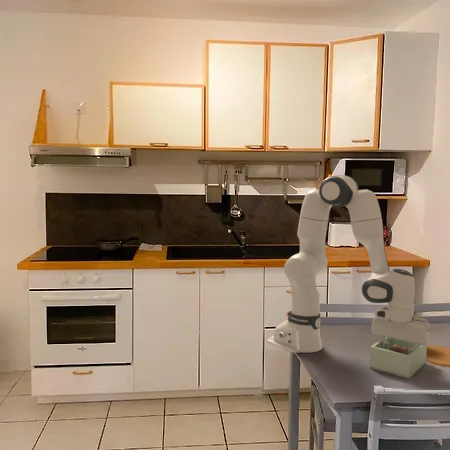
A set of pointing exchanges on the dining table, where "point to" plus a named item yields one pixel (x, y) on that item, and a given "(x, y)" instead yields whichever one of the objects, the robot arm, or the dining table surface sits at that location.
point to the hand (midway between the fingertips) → (398, 350)
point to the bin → (397, 358)
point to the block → (399, 349)
